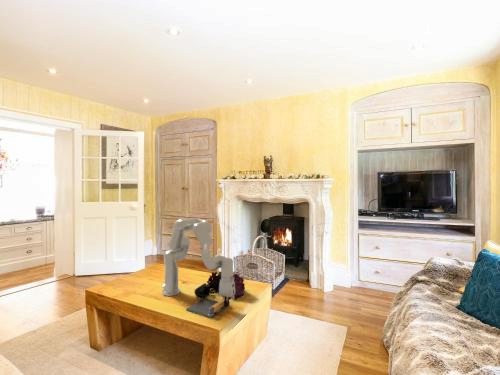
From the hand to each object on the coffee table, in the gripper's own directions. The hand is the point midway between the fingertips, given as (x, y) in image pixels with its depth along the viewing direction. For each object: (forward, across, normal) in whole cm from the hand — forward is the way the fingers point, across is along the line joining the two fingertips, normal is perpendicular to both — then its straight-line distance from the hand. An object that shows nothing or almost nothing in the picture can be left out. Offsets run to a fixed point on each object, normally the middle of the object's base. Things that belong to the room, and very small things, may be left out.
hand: (226, 306), depth 165 cm
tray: (+2, +12, +4) cm, 13 cm away
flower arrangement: (+2, +15, -23) cm, 27 cm away
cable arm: (0, +4, +4) cm, 5 cm away
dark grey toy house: (+2, +26, -9) cm, 28 cm away
